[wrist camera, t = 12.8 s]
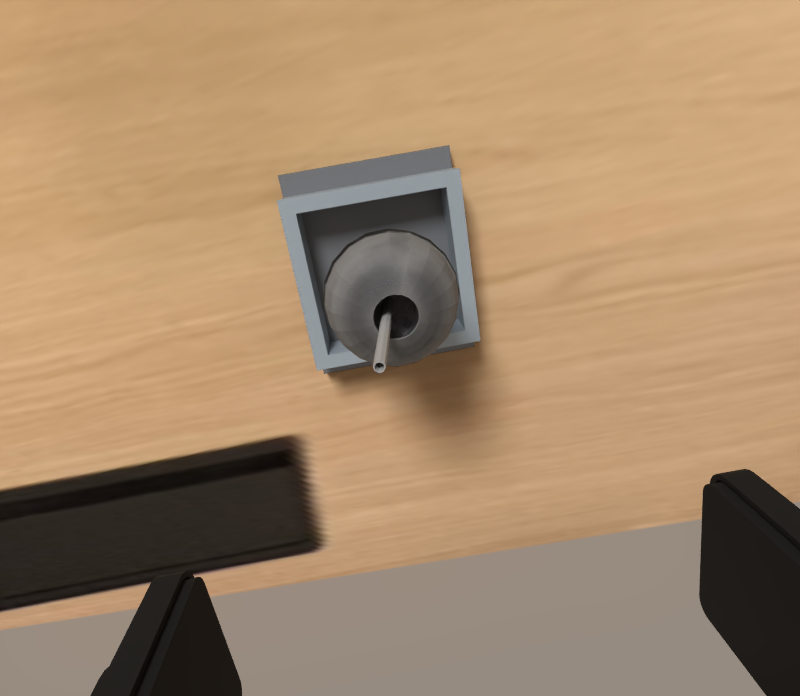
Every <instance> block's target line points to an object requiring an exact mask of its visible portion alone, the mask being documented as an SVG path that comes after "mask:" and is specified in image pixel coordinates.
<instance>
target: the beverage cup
mask: <svg viewBox="0 0 800 696" xmlns="http://www.w3.org/2000/svg"><path fill="white" fill-rule="evenodd" d="M459 294H460V293H459V287H458V282H457V276H456V272H455V270H454V269H453V267H452V265H451V263H450V261H449V259H448V258H447V256H446V254H445V253H444V252H443V251H442V250H441V249H439V248H438V247H437V246H436V245H435V244H434V243H433V242H432V241H431V240H430V239H427V238H425V237H423V236H421V235H418V234H416V233H414V232H412V231H409V230H399V229H389V228H387V229H382V230H378V231H374V232H369V233H365V234H364V235H362V236H360V237H359V238H357V239H355V240H354V241H352V242H350V243H349V244H347V245H346V246H345V247H344V248H343V250H342V251H341V252H340V253H339V254H338V255H337V257H336V258H335V259H334V260H333V261H332V264H331V266H330V269H329V271H328V274H327V276H326V279H325V281H324V294H323V305H324V309H325V312H326V316H327V320H328V323H329V325H330V326H331V328H332V329H333V331H334V332H335V334H336V335H337V337H338V338H339V340H340V341H341V343H342V344H343V346H345V347H346V348H347V349H348V350H350V351H351V352H352V353H353V354H355V355H356V356H357V357H358V358H360V359H363V360H365V361H368V362H371V363H373V368H374V371H376V372H378V373H381V372H384V370H385V369H386V366H396V367H398V366H402V365H406V364H411V363H415V362H418V361H419V360H421V359H423V358H425V357H426V356H428V355H430V354H432V353H433V352H434V351H435V350H436V349H437V348H438V347H439V346H440V345H441V344H442V343H443V342H444V341H445V340H446V339H447V337H448V335H449V333H450V331H451V329H452V327H453V325H454V323H455V321H456V316H457V309H458V301H459Z"/></svg>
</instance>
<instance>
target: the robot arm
mask: <svg viewBox="0 0 800 696" xmlns="http://www.w3.org/2000/svg"><path fill="white" fill-rule="evenodd" d="M701 536H702V537H701V563H700V593H699V595H700V602H701V605H702V608H703V610H704V613H705V614H706V616H707V617H708V619H709V620H710V622H711V623H712V624H713V626H714V627H715V628H716V630H717V631H718V632H719V633H720V635H721V636H722V638H723V639H724V640H725V641H726V643H727V644H728V645H729V647H730V648H731V650H732V651H733V652H734V653H735V655H736V656H737V657H738V659H739V660H740V661H741V663H742V664H743V665H744V666H745V668H746V669H747V671H748V672H749V673H750V675H751V676H752V677H753V679H754V680H755V681H756V682H757V684H758V685H759V686H760V688H761V689H762V690H763V692H764V693H765V694H766V695H767V696H800V509H799V508H798V507H797V506H795V505H794V504H793V503H792V502H790V501H789V500H788V499H787V498H785V497H784V496H783V495H782V494H780V493H779V492H778V491H777V490H775V489H774V488H773V487H771V486H770V485H769V484H768V483H766V482H765V481H764V480H763V479H761V478H760V477H759V476H758V475H756V474H755V473H754V472H752V471H750V470H747V469H742V470H737V471H731V472H726V473H720V474H716V475H713V476H712V478H711V480H710V484H707V485H705V486H704V489H703V506H702V535H701ZM91 696H242V687H241V681H240V678H239V675H238V673H237V670H236V667H235V665H234V662H233V659H232V656H231V654H230V651H229V648H228V646H227V643H226V640H225V637H224V635H223V632H222V629H221V626H220V624H219V621H218V618H217V616H216V613H215V610H214V607H213V605H212V602H211V599H210V597H209V594H208V591H207V588H206V586H205V583H204V581H203V579H202V578H201V577H196V578H194V576H193V574H192V573H191V572H190V571H182V572H177V573H171V574H166V575H160V576H157V577H155V578H154V579H153V581H152V582H151V584H150V586H149V588H148V590H147V592H146V594H145V596H144V598H143V600H142V602H141V604H140V606H139V608H138V610H137V612H136V614H135V616H134V618H133V620H132V622H131V624H130V626H129V628H128V630H127V632H126V634H125V636H124V638H123V640H122V642H121V644H120V646H119V648H118V650H117V652H116V654H115V656H114V658H113V660H112V662H111V664H110V666H109V667H108V668H107V669H106V670H105V671H104V672H103V674H102V675H101V677H100V678H99V680H98V682H97V684H96V686H95V688H94V690H93V692H92V694H91Z"/></svg>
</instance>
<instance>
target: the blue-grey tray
mask: <svg viewBox="0 0 800 696" xmlns="http://www.w3.org/2000/svg"><path fill="white" fill-rule="evenodd" d="M278 178H279V182H280V186H281V190H282V195H283V198H282V199H280V200H278V201H277V203H278V208H279V212H280V216H281V220H282V224H283V229H284V233H285V237H286V241H287V246H288V250H289V254H290V258H291V262H292V267H293V271H294V275H295V279H296V284H297V288H298V292H299V296H300V300H301V305H302V309H303V313H304V317H305V322H306V326H307V330H308V334H309V338H310V343H311V347H312V351H313V355H314V360H315V364H316V368H317V370H323V371H324V374H326V373H331V372H337V371H342V370H348V369H353V368H359V367H364V366H370V365H373V363H371V362H368V361H365V360H363V359H360V358H358V357H357V356H356V355H355V354H353V353H352V352H351V351H350V350H348V349H347V348H346V347H345V346H343V344H342V343H341V341H340V340H339V338H338V337H337V335H336V334H335V332H334V331H333V329H332V328H331V326H330V325H329V323H328V320H327V316H326V312H325V309H324V305H323V294H324V281H325V279H326V276H327V274H328V271H329V269H330V266H331V264H332V261H333V260H334V259H335V258H336V257H337V255H338V254H339V253H340V252H341V251H342V250H343V248H344V247H345V246H346V245H347V244H349V243H350V242H352V241H354V240H355V239H357V238H359V237H360V236H362V235H364V234H365V233H369V232H374V231H378V230H382V229H387V228H389V229H399V230H409V231H412V232H414V233H416V234H418V235H421V236H423V237H425V238H427V239H430V240H431V241H432V242H433V243H434V244H435V245H436V246H437V247H438V248H439V249H441V250H442V251H443V252H444V253H445V254H446V256H447V258H448V259H449V261H450V263H451V265H452V267H453V269H454V270H455V272H456V276H457V282H458V287H459V293H460V294H459V301H458V309H457V316H456V321H455V323H454V325H453V327H452V329H451V331H450V333H449V335H448V337H447V339H446V340H445V341H444V342H443V343H442V344H441V345H440V346H439V347H438V348H437V349H436V350H435V351H434V352H433V353H432V354H436V353H442V352H447V351H453V350H458V349H464V348H469V347H474V342H477V341H480V333H479V325H478V317H477V308H476V300H475V292H474V284H473V275H472V267H471V259H470V250H469V242H468V234H467V226H466V217H465V209H464V201H463V192H462V184H461V176H460V168H452V164H451V156H450V148H449V145H448V146H443V147H437V148H431V149H426V150H420V151H414V152H409V153H403V154H397V155H392V156H386V157H380V158H375V159H369V160H363V161H358V162H352V163H346V164H341V165H335V166H329V167H324V168H318V169H312V170H307V171H301V172H295V173H290V174H284V175H278ZM430 355H431V354H430Z"/></svg>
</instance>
